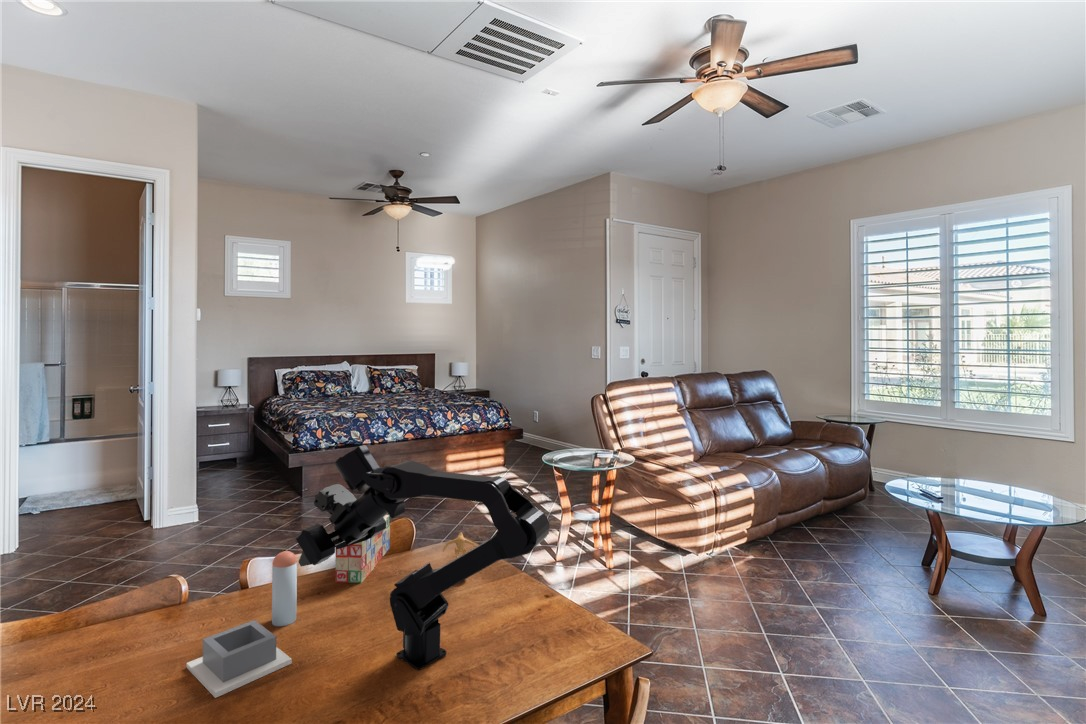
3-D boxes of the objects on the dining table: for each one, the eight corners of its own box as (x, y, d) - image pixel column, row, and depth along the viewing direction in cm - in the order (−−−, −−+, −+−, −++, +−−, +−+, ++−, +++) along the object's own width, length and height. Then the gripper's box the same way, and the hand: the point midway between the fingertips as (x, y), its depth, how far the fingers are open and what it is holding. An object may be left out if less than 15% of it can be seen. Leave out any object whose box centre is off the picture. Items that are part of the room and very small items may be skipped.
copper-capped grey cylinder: (300, 620, 107) (301, 551, 107) (278, 628, 104) (279, 558, 104) (289, 612, 110) (290, 546, 110) (267, 621, 107) (268, 552, 106)
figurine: (478, 576, 130) (479, 526, 129) (477, 587, 124) (478, 535, 123) (443, 576, 129) (444, 526, 129) (440, 587, 123) (441, 535, 123)
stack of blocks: (367, 547, 146) (367, 502, 145) (390, 548, 146) (390, 503, 145) (334, 582, 124) (335, 530, 124) (361, 583, 124) (362, 531, 124)
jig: (291, 663, 93) (291, 636, 93) (215, 698, 84) (215, 667, 84) (259, 638, 101) (260, 612, 100) (186, 667, 91) (186, 639, 91)
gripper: (377, 464, 110) (332, 507, 115) (307, 486, 93) (257, 535, 97) (407, 509, 108) (360, 551, 112) (340, 540, 90) (287, 588, 95)
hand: (318, 555), depth 104 cm, fingers open, 9 cm apart
